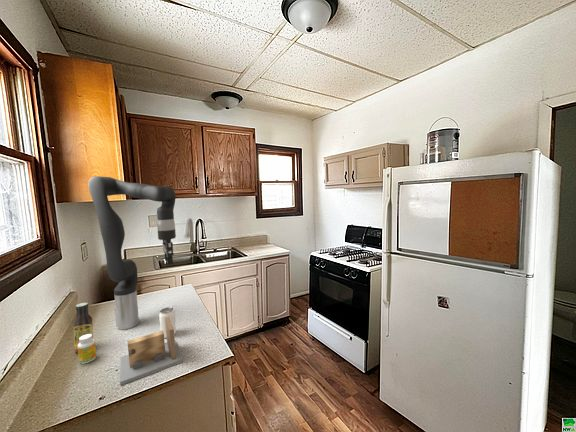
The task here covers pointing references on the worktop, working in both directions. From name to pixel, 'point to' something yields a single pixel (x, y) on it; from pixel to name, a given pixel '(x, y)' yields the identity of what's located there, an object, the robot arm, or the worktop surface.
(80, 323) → the sauce bottle
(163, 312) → the can
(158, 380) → the worktop surface
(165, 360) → the grey and brown stand
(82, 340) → the supplement bottle
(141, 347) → the long tan wooden block
